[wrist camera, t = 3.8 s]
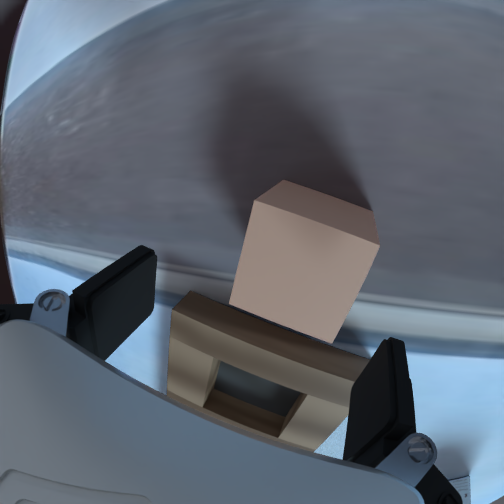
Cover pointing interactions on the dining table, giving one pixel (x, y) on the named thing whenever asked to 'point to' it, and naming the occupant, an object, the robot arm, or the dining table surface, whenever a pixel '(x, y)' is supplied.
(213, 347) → the hole platform
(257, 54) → the dining table surface
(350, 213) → the block
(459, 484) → the supplement box
